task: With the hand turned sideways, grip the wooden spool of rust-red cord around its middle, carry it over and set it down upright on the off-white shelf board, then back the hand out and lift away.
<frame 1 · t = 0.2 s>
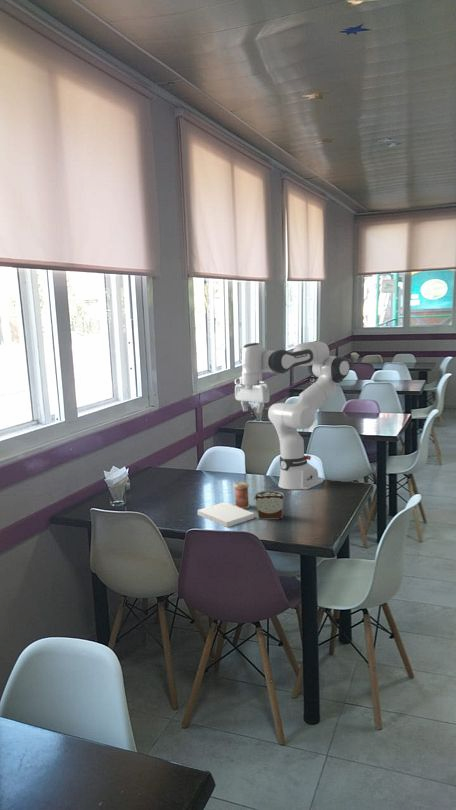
hand: (252, 412, 249), 39 cm above the table, tool pointing down, fingers open, 8 cm apart
food container: (270, 516, 230), on the table
shelf board: (225, 516, 232), on the table
cord spool: (242, 507, 242), on the table
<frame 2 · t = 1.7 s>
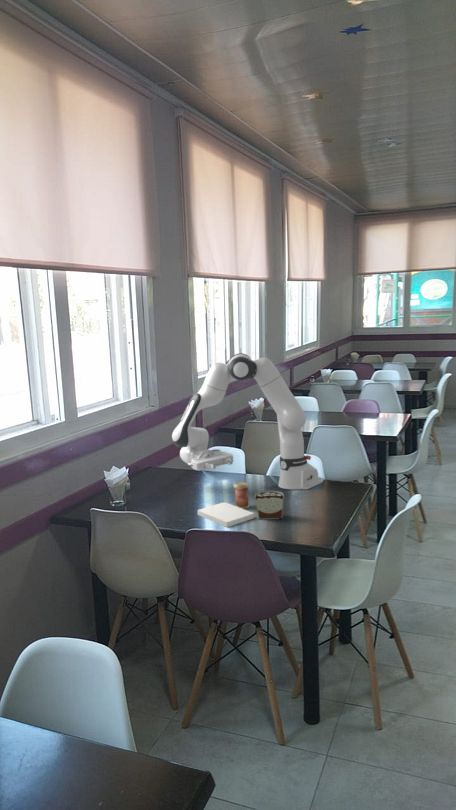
hand: (222, 464, 249), 16 cm above the table, tool horizontal, fingers open, 8 cm apart
nothing on the table moved.
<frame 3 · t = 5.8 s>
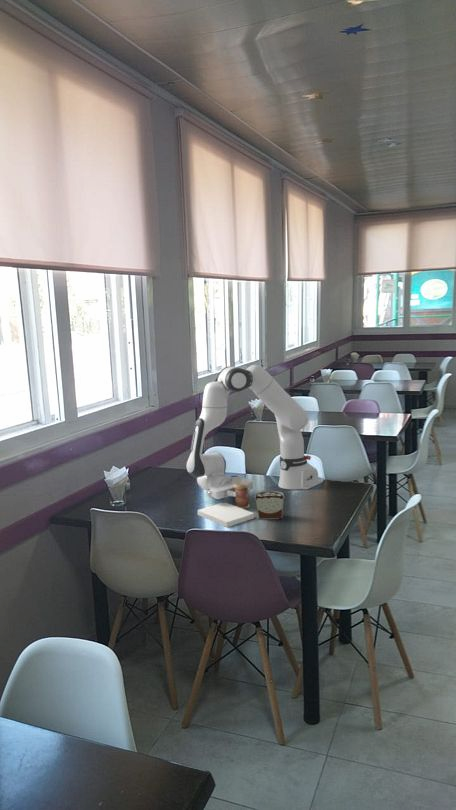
hand: (242, 492, 241), 7 cm above the table, tool horizontal, fingers closed on cord spool, 5 cm apart
cord spool: (242, 507, 242), on the table, touching gripper
everything else where it was.
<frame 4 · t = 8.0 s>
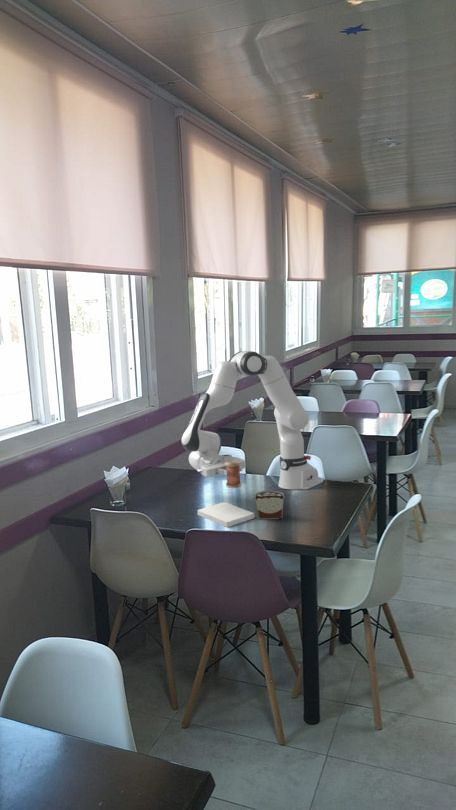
hand: (234, 471, 235), 17 cm above the table, tool horizontal, fingers closed on cord spool, 5 cm apart
cord spool: (233, 485, 237), point 11 cm above the table, touching gripper
everything else where it was.
when the fingers open (9 cm above the table, at t = 10.6 s): cord spool stays where it is, resting on shelf board.
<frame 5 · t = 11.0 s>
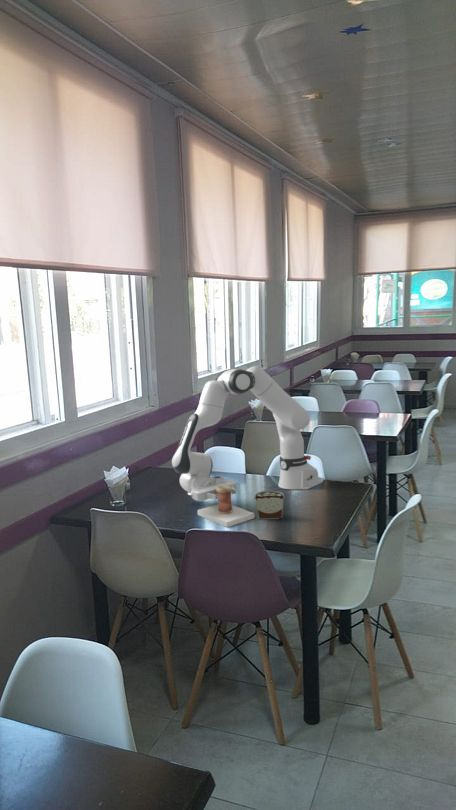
hand: (225, 494, 230), 9 cm above the table, tool horizontal, fingers open, 8 cm apart
cord spool: (225, 511, 232), point 2 cm above the table, touching shelf board
everything else where it was.
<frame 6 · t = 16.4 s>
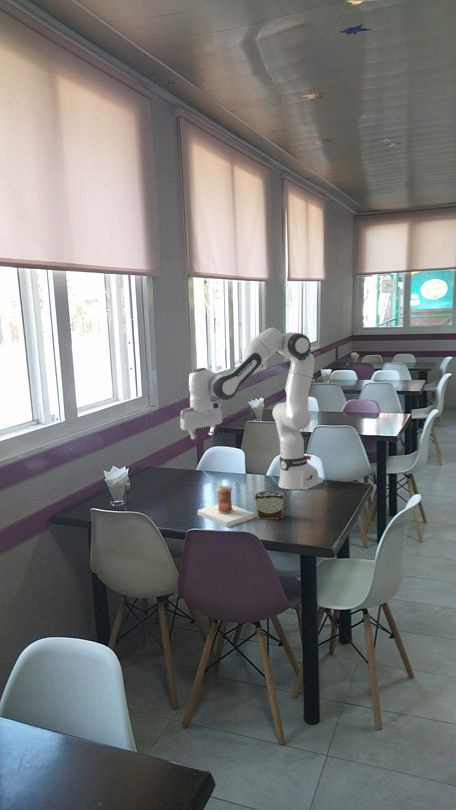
hand: (202, 437, 248), 29 cm above the table, tool pointing down, fingers open, 8 cm apart
nothing on the table moved.
at the end: cord spool inside the target area (0.0 cm from its centre), point 2.0 cm above the table; cord spool tilted 0°; the gripper is holding nothing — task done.
